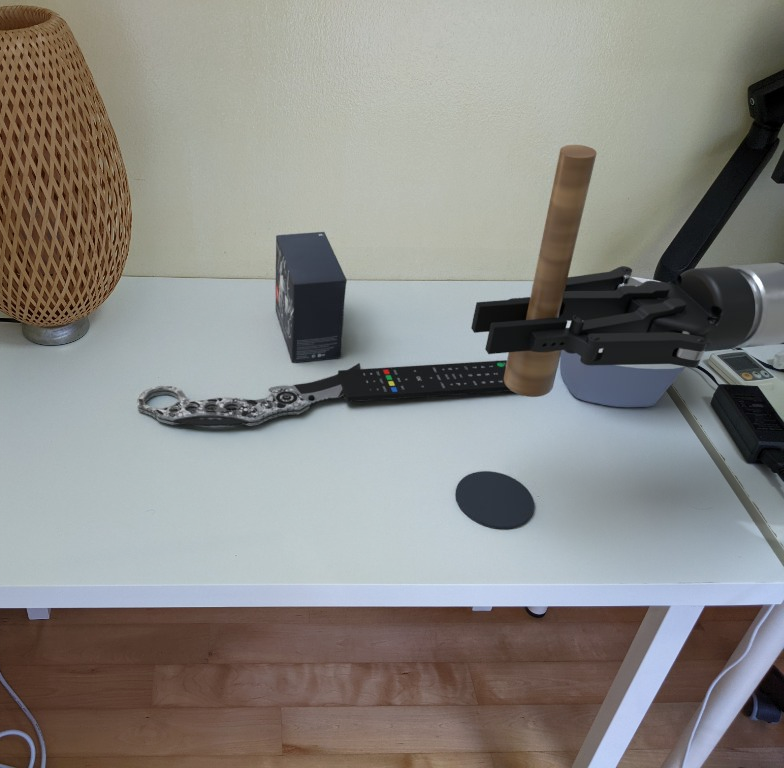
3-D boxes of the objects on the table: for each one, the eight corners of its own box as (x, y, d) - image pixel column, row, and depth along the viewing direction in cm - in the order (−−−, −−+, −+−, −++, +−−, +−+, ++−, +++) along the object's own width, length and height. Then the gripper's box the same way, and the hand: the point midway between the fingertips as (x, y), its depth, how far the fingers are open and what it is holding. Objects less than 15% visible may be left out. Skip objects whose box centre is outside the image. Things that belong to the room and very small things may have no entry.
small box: (273, 310, 110) (274, 233, 102) (320, 306, 111) (325, 229, 103) (290, 364, 100) (293, 282, 92) (342, 359, 100) (349, 278, 93)
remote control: (337, 379, 96) (338, 370, 95) (519, 367, 100) (521, 359, 99) (346, 406, 92) (347, 397, 91) (536, 393, 96) (538, 384, 95)
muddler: (563, 387, 71) (622, 153, 57) (527, 403, 69) (579, 167, 56) (528, 362, 74) (577, 136, 60) (493, 377, 72) (535, 148, 59)
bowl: (553, 412, 92) (577, 335, 86) (535, 341, 105) (555, 268, 98) (687, 425, 91) (722, 348, 84) (653, 351, 103) (682, 278, 96)
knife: (359, 358, 98) (383, 403, 90) (359, 368, 99) (382, 413, 91) (135, 381, 94) (139, 431, 86) (136, 392, 95) (140, 442, 87)
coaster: (550, 511, 80) (551, 509, 79) (491, 540, 76) (492, 537, 76) (496, 464, 85) (497, 461, 85) (439, 489, 82) (440, 486, 82)
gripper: (769, 393, 66) (510, 419, 63) (666, 298, 78) (444, 316, 75) (807, 319, 62) (530, 343, 58) (692, 231, 74) (457, 246, 70)
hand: (483, 327), depth 67 cm, fingers closed on muddler, 3 cm apart
